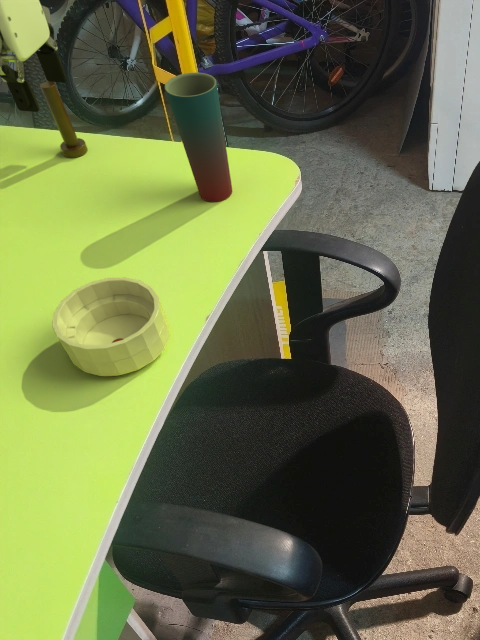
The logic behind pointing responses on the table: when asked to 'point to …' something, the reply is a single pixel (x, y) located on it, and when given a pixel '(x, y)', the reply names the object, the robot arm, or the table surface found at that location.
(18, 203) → the table surface
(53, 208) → the table surface
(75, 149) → the masher
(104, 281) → the bowl
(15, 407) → the table surface
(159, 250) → the table surface
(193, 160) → the cup
